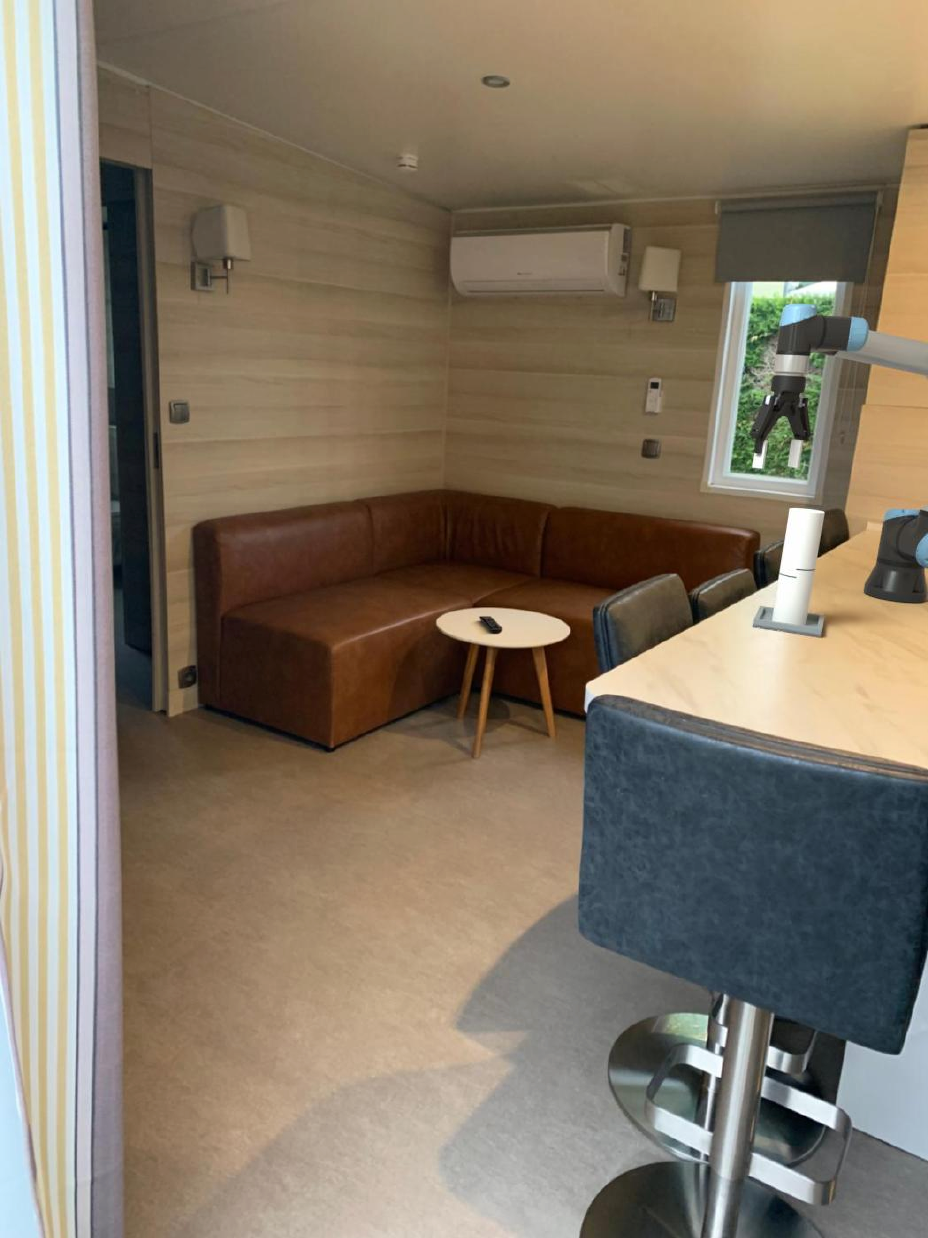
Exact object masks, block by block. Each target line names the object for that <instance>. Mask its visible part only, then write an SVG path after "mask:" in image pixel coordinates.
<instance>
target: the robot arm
mask: <svg viewBox="0 0 928 1238" xmlns="http://www.w3.org/2000/svg"><path fill="white" fill-rule="evenodd" d="M780 315H781V316H780V320H779V324H778V334H777V335H778V336H777V343H776V352H775V357H774V365H773V371H772V372H773V373H775V374H774V375H773V376H772V377H771V383H770V391H771V392H773V395H769V394H768V395H764V396H763V399H762V404H761V406H760V409H759V411H758V413H757V416H756V418H755V420H754V422H753V424H752V427H751V428H750V431H749V436H750V437H751V439H754V440H755V441H754V449H753V460H752V469H763V470H764V469H765V464H766V458H767V449H768V443H769V439H767V438H768V436H769V434H770V433H771V431H772V430H773V429H774V427H775V425H776V424H777V422H778V421H779V419H781V418H782V417H785V418H787V421H788V423H789V426H790V429H791V432H792V434H793V438H794V439H791V441H790V446H789V447H790V448H789V454H788V463H787V468H794V469H800V465H801V458H802V453H803V447H804V441H808V440H810V438H811V436H812V431H811V430H812V429H811V423H810V417H809V416H810V415H809V409H808V408H809V407H808V405H809V398H808V397H805V396H804V397H803V396H801V395H800V394H804V393H805V391H806V384H807V377H806V376H805V375H807V374H808V373H809V368H810V367H809V365H810V360H811V354H812V353H813V354H820V355H825V356H831V357H835V358H840V359H845V360H850V361H855V362H859V363H863V364H869V365H873V366H878V367H883V368H887V369H892V370H896V371H902V372H905V373H911V374H915V375H921V376H925V378H926V380H927V381H928V342H927V341H924V340H923V341H921V340H919V339H918V340H917V339H912V338H909V337H903V336H899V335H895V334H889V333H884V332H879V331H875V330H870V328H869V324H868V323H869V322H868V321H867V320H866V319H865V318H863V317H858V316H857V317H855V316H852V315H851V316H842V315H841V316H840V315H837V316H836V315H822V314H818V306H817V305H815V304H810V303H790V304H786V305H785V306H783V308H782V312H781V314H780ZM880 533H881V534H880V540H879V545H878V550H877V555H876V556H877V557H876V561H875V565H874V567H873V569H872V570H871V572H870V574H869V575H868V577H867V579H866V580H865V583H864V586H863V591H864V592H863V593H864V594H866V595H868V596H870V597H874V598H877V599H881V600H886V601H890V602H897V603H898V602H899V603H908V604H911V603H912V604H913V603H914V604H915V603H916V604H917V603H919V604H921V603H924V602H926V601H927V597H928V585H927V579H926V573H925V571H926V570H925V569H927V570H928V504H927V503H926V504H925V505H924V506H921V507H920V509H910V508H905V509H904V508H889V509H888V510H886V512H885V515H884V518H883V521H882V528H881V532H880Z"/></svg>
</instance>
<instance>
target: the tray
mask: <svg viewBox="0 0 928 1238" xmlns="http://www.w3.org/2000/svg"><path fill="white" fill-rule="evenodd" d="M773 610H774V607H771V606H764V605H759V608H758V610H757V612H756V614H755V616H754V618H753V622H752V628H756V627H760V628H759V629H762V628H767V629H766V630H769V629H773V630H772V631H775V630H779V631H778V632H781V631H783V632H782V633H789V634H793V635H794V634H796V635H802V636H807V635H809V636H808V637H813V636H815V637H814V638H821V637H822V632H823V627H824V621H825V620H824V619H825V614H818V613H810V612H808V614H807V620H806V625H805V626H803V625H796V624H790V623H783V622H777V621H772V616H773Z"/></svg>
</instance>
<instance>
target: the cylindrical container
mask: <svg viewBox="0 0 928 1238" xmlns="http://www.w3.org/2000/svg"><path fill="white" fill-rule="evenodd" d="M824 518H825V511H823V510H818V509H813V508H801V507H800V508H799V507H792V508H791V507H790V508H789V511H788V518H787V523H786V531H785V535H784V540H783V541H784V542H783V548H782V554H781V560H780V561H781V562H780V566H779V573H778V580H777V585H776V591H775V592H776V593H775V598H774V604H773V605H774V606H773V608H774V610H773V616H772V621H777V622H783V623H790V624H796V625H803V626H805V625H806V620H807V614H808V613H809V607H810V606H809V605H810V600H811V597H812V596H811V595H812V591H813V590H812V589H813V583H814V577H815V572H816V565H817V560H818V555H819V554H818V553H819V548H820V543H821V536H822V531H823V524H824Z"/></svg>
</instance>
